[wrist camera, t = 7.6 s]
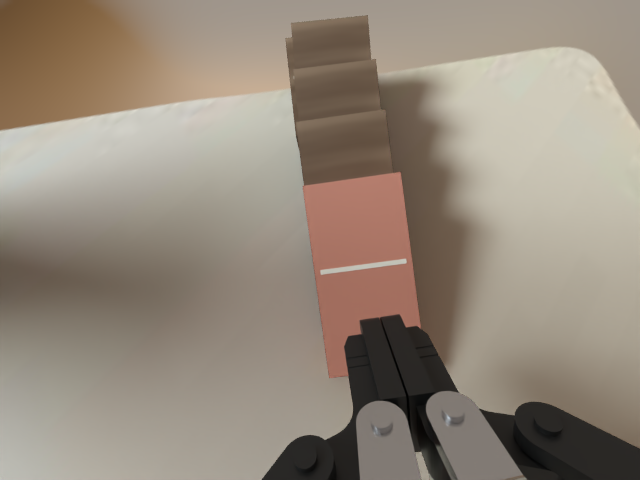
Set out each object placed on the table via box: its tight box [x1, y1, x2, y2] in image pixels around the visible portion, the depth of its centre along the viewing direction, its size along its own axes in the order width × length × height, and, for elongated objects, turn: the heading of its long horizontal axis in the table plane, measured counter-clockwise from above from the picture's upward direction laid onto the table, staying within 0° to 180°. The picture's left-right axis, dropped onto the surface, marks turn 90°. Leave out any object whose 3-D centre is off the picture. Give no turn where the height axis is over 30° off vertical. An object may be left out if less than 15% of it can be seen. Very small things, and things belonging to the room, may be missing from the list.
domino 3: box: [293, 59, 381, 121], centre depth 20 cm, size 2×5×10 cm
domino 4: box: [291, 15, 371, 69], centre depth 22 cm, size 2×5×10 cm
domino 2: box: [296, 109, 393, 186], centre depth 19 cm, size 2×5×10 cm
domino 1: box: [303, 172, 421, 378], centre depth 17 cm, size 2×5×10 cm
